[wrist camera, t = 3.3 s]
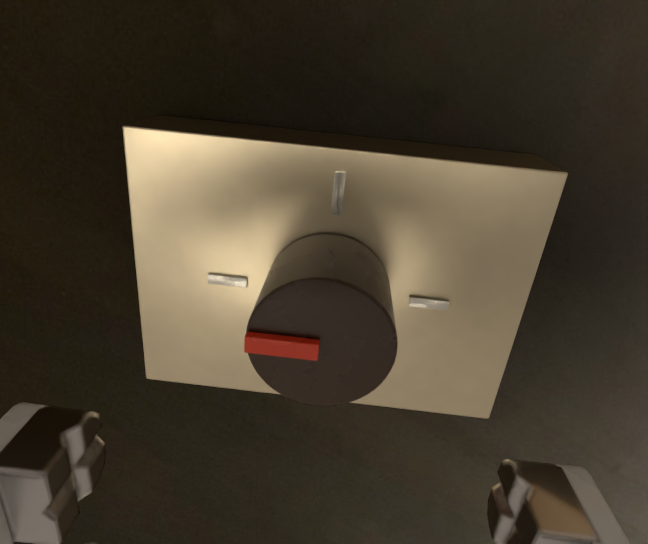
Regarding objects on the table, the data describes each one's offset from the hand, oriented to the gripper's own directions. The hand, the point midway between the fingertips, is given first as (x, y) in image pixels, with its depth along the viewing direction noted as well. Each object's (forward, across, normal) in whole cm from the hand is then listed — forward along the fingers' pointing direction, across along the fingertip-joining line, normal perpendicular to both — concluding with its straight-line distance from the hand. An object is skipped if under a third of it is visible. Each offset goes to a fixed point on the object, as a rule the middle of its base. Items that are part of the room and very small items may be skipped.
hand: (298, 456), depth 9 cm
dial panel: (+11, 0, 0) cm, 11 cm away
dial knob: (+8, 0, 0) cm, 8 cm away
